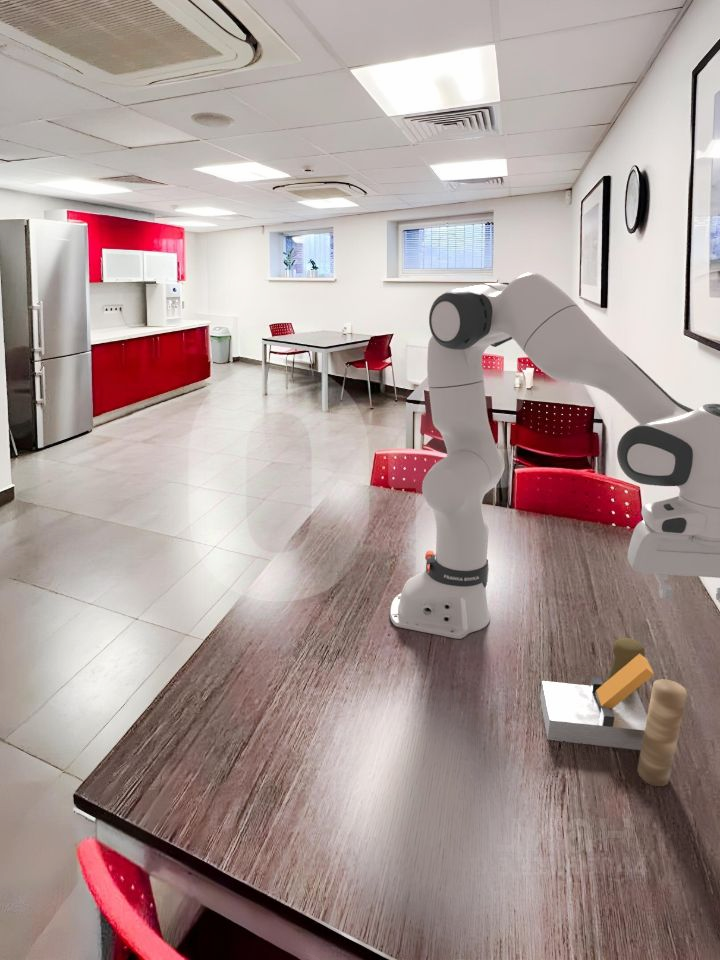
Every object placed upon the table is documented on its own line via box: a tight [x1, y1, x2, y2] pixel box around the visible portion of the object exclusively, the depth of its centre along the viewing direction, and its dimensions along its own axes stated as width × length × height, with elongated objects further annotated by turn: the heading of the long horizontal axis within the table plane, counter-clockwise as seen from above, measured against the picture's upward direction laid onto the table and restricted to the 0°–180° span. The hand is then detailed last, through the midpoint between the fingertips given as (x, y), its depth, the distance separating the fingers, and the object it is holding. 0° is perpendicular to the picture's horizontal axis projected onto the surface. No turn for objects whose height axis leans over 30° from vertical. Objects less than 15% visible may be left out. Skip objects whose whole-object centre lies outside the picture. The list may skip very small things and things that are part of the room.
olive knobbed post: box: [606, 637, 646, 698], centre depth 106 cm, size 6×6×11 cm
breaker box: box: [539, 675, 648, 751], centre depth 99 cm, size 16×10×6 cm, turn 81°
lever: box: [595, 654, 655, 711], centre depth 97 cm, size 2×4×11 cm
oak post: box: [636, 678, 688, 787], centre depth 87 cm, size 4×4×16 cm
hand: (693, 599), depth 90 cm, fingers open, 7 cm apart
